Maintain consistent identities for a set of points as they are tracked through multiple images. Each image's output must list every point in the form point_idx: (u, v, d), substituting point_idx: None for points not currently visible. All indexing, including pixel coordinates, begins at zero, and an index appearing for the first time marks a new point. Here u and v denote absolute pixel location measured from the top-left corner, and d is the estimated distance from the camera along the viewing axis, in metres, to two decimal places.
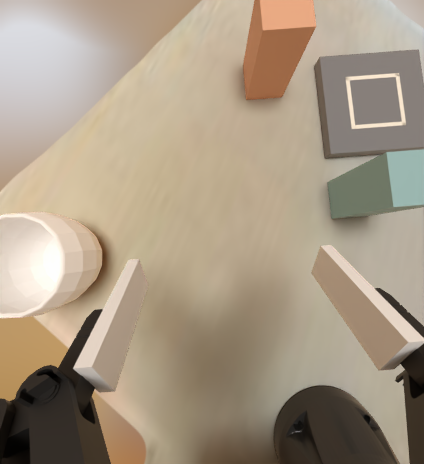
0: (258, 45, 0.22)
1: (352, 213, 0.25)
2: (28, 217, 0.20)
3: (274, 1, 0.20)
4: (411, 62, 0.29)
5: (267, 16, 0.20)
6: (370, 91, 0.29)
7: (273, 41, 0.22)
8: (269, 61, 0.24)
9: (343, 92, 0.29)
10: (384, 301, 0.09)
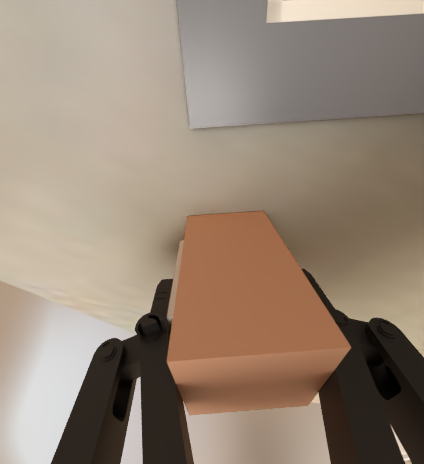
0: None
1: None
2: None
3: (243, 400, 0.08)
4: None
5: (278, 403, 0.09)
6: None
7: None
8: None
9: (321, 39, 0.08)
10: None
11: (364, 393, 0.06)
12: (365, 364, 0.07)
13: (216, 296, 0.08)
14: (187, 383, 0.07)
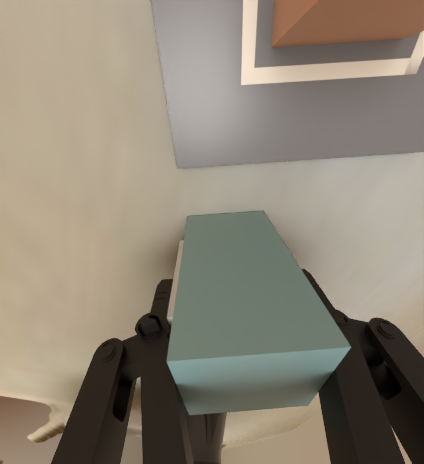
0: None
1: None
2: None
3: None
4: None
5: None
6: None
7: None
8: None
9: None
10: None
11: (364, 393, 0.06)
12: (365, 364, 0.07)
13: None
14: None
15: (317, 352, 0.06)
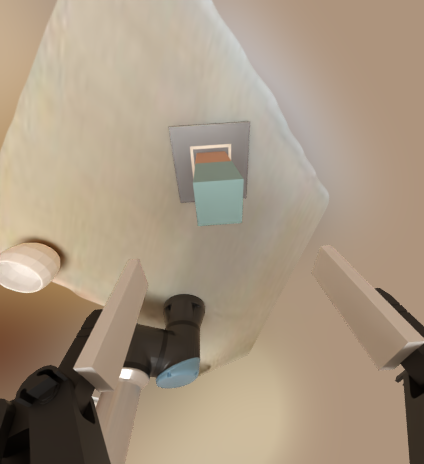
0: None
1: None
2: (10, 262, 0.41)
3: None
4: (242, 134, 0.37)
5: None
6: None
7: None
8: None
9: (188, 159, 0.39)
10: (384, 301, 0.09)
11: None
12: None
13: None
14: None
15: (234, 181, 0.22)
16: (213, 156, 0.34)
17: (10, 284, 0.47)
